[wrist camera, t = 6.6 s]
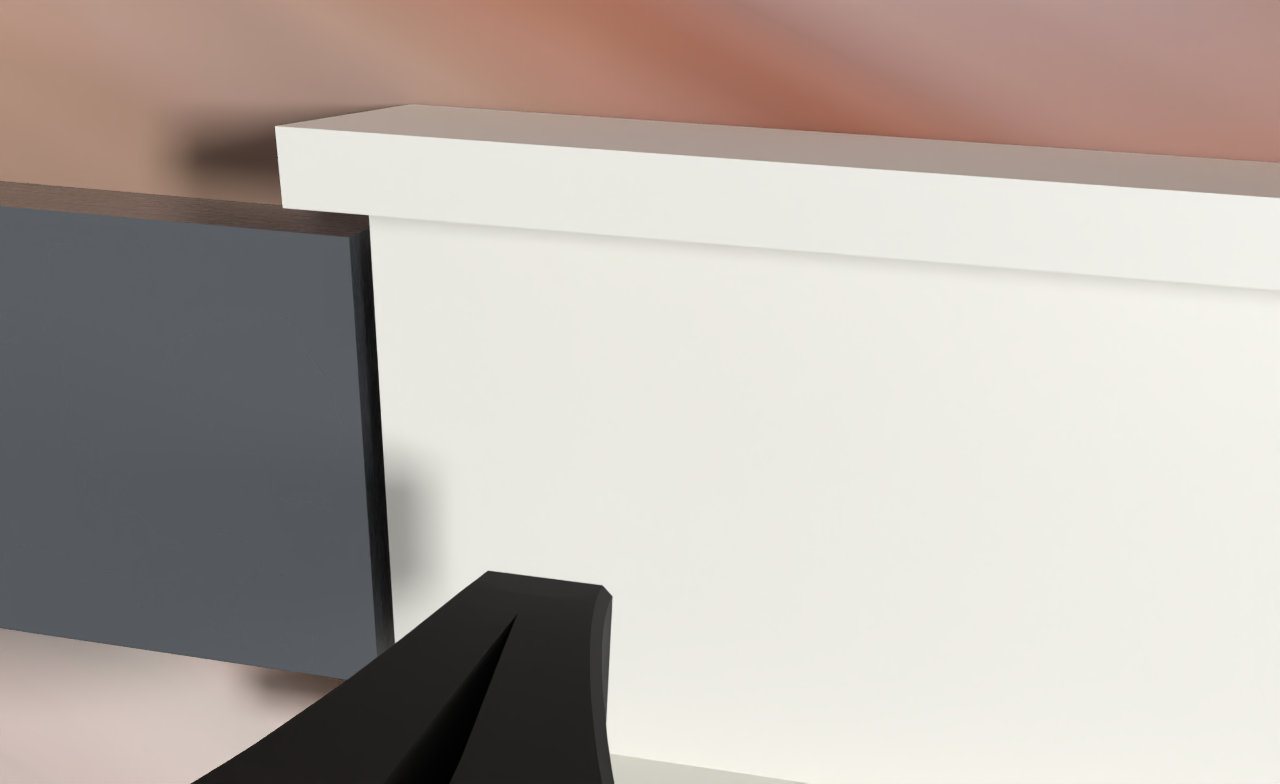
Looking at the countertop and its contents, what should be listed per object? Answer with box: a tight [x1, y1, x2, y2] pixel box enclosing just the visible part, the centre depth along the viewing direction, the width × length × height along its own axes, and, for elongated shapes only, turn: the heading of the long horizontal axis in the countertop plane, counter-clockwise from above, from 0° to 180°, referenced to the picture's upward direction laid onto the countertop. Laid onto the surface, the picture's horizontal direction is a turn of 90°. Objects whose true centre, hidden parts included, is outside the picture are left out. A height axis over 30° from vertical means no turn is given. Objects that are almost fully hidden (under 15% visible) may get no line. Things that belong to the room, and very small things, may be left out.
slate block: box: [0, 181, 395, 680], centre depth 14 cm, size 7×8×2 cm
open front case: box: [275, 104, 1280, 784], centre depth 11 cm, size 10×17×4 cm, turn 87°
